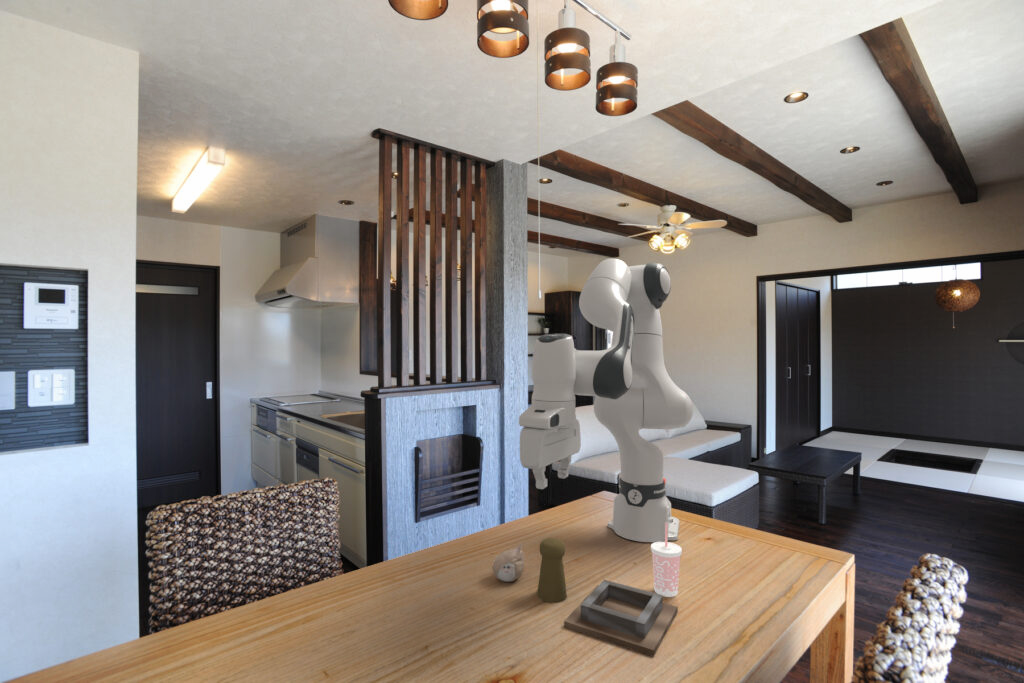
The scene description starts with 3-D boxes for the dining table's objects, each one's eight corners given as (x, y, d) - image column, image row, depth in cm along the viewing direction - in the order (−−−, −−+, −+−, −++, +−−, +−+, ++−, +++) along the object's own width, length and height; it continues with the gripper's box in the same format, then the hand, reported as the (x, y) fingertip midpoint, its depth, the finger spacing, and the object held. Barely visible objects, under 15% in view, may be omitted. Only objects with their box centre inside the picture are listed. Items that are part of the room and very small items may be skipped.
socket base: (597, 589, 103) (598, 572, 103) (677, 612, 95) (677, 593, 95) (564, 626, 89) (564, 606, 89) (653, 656, 81) (653, 634, 81)
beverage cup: (644, 588, 104) (644, 520, 104) (664, 581, 107) (664, 515, 107) (667, 601, 98) (668, 530, 99) (688, 593, 102) (688, 524, 102)
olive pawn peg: (565, 604, 97) (566, 547, 97) (534, 600, 98) (535, 544, 98) (568, 589, 103) (568, 535, 103) (539, 586, 104) (539, 533, 104)
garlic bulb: (514, 589, 103) (514, 550, 103) (487, 582, 106) (487, 544, 106) (528, 576, 109) (528, 539, 109) (502, 570, 112) (502, 534, 112)
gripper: (561, 407, 112) (561, 470, 111) (514, 418, 94) (513, 492, 94) (588, 409, 108) (587, 474, 108) (543, 421, 91) (543, 497, 91)
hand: (552, 482), depth 101 cm, fingers open, 8 cm apart
